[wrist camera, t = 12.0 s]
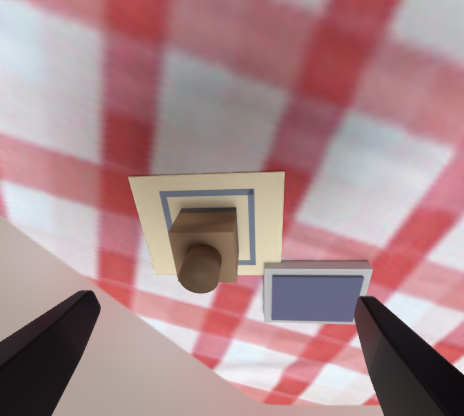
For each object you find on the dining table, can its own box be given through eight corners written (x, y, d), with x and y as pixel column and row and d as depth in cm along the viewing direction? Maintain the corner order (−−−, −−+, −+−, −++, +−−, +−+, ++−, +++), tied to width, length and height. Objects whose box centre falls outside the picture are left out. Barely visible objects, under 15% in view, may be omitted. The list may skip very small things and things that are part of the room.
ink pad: (368, 261, 21) (374, 271, 20) (354, 315, 24) (359, 327, 23) (263, 261, 22) (264, 271, 21) (263, 313, 25) (264, 324, 24)
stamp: (236, 207, 19) (230, 251, 14) (238, 252, 21) (234, 304, 16) (181, 208, 20) (157, 251, 15) (189, 252, 22) (170, 302, 17)
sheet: (284, 171, 18) (284, 172, 17) (280, 273, 22) (280, 275, 22) (129, 176, 19) (127, 177, 19) (155, 272, 23) (154, 274, 23)
